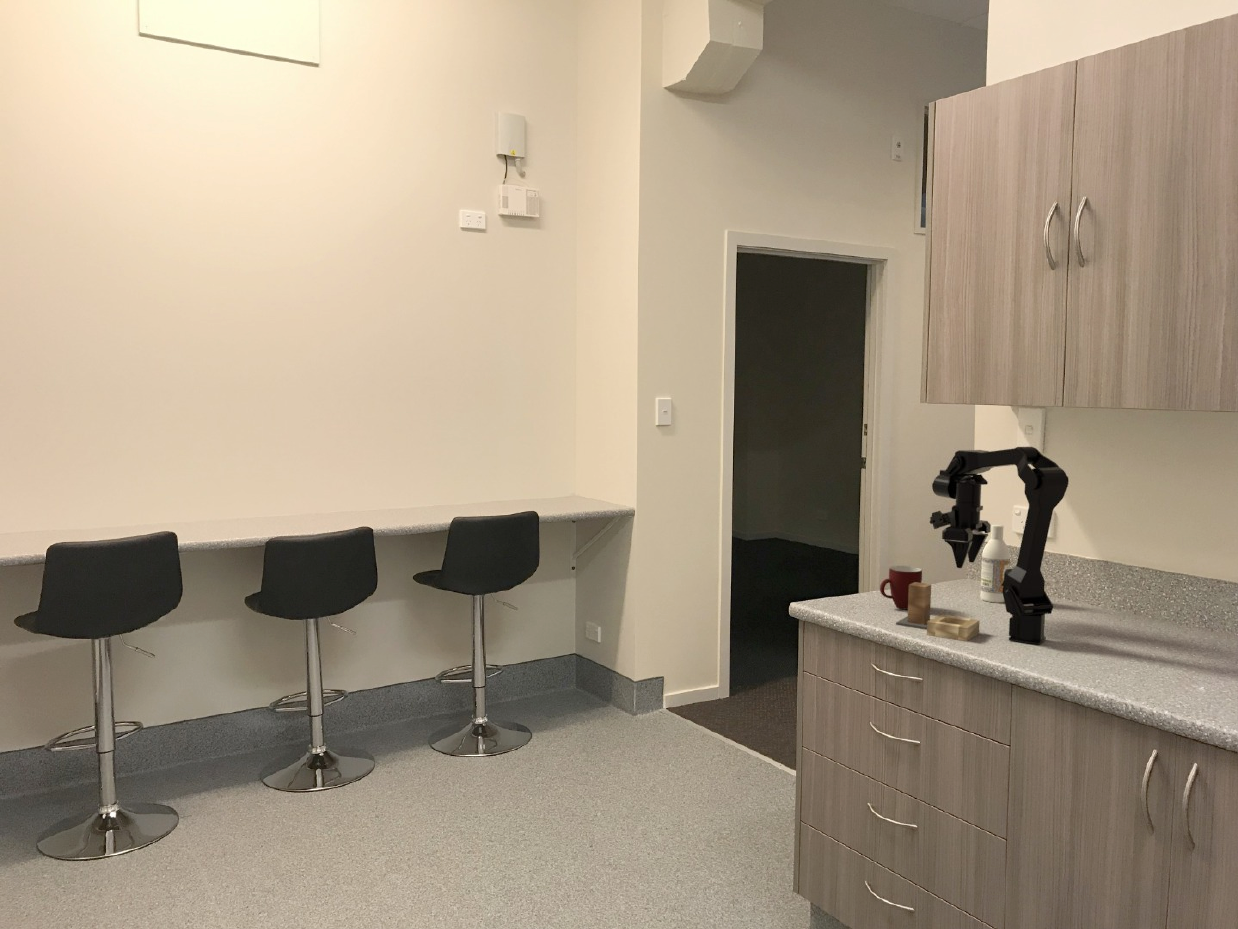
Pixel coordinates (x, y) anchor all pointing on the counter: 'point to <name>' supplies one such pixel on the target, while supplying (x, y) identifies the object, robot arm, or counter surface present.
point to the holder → (953, 627)
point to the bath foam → (994, 566)
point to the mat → (905, 623)
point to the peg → (919, 603)
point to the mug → (901, 583)
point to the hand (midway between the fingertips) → (965, 565)
